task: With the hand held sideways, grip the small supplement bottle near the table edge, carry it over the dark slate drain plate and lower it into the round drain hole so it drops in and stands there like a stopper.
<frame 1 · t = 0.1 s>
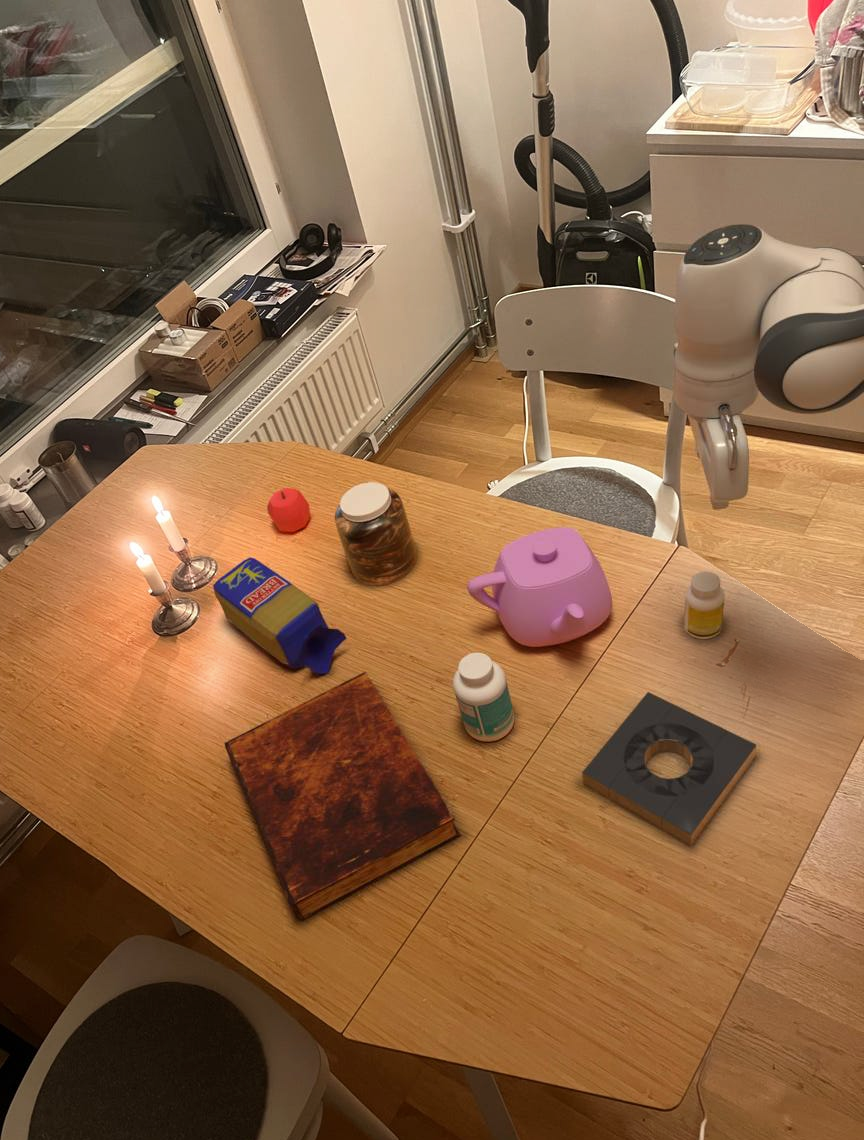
hand: (711, 479, 109), 33 cm above the table, tool pointing down, fingers open, 8 cm apart
apple: (294, 524, 174), on the table
supplement bottle: (703, 627, 137), on the table
bread: (286, 637, 155), on the table
book: (341, 797, 131), on the table
pill bottle: (489, 723, 134), on the table
teapot: (555, 616, 144), on the table
jar: (384, 563, 161), on the table
drain plate: (668, 771, 122), on the table
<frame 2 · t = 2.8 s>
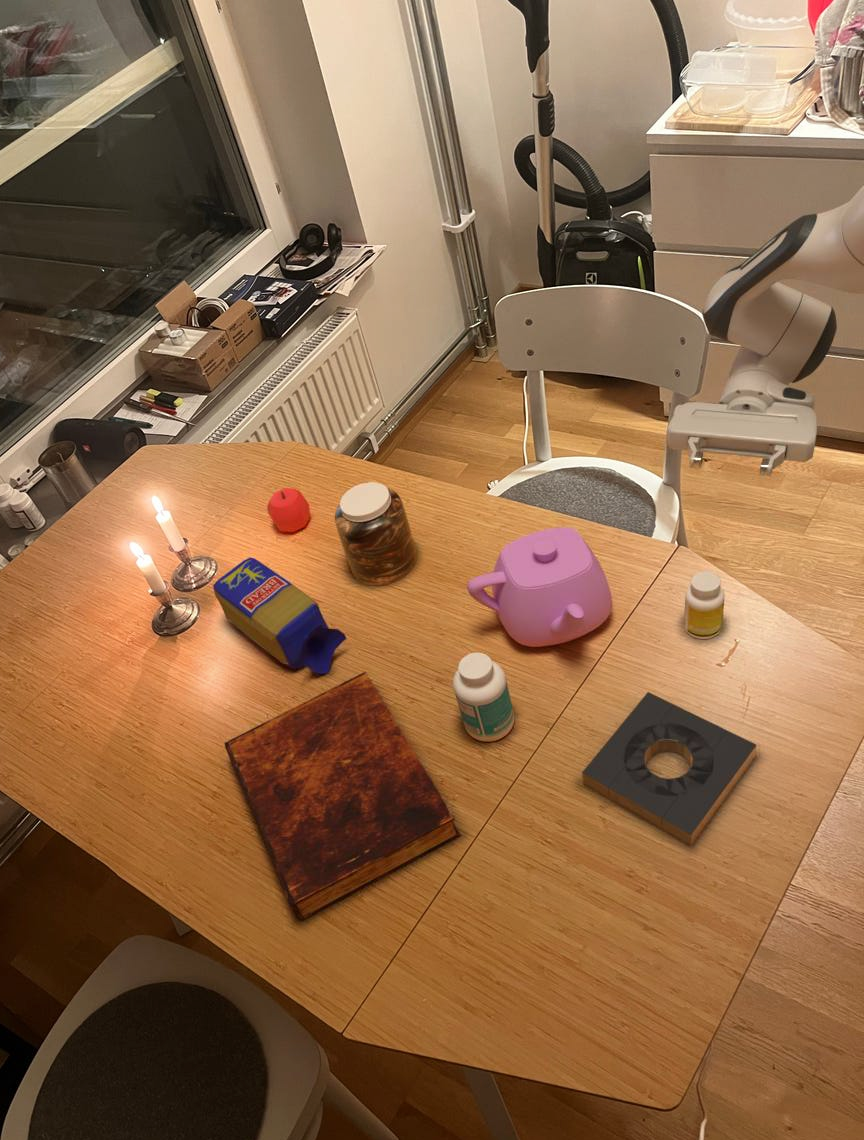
hand: (729, 468, 128), 20 cm above the table, tool horizontal, fingers open, 8 cm apart
nothing on the table moved.
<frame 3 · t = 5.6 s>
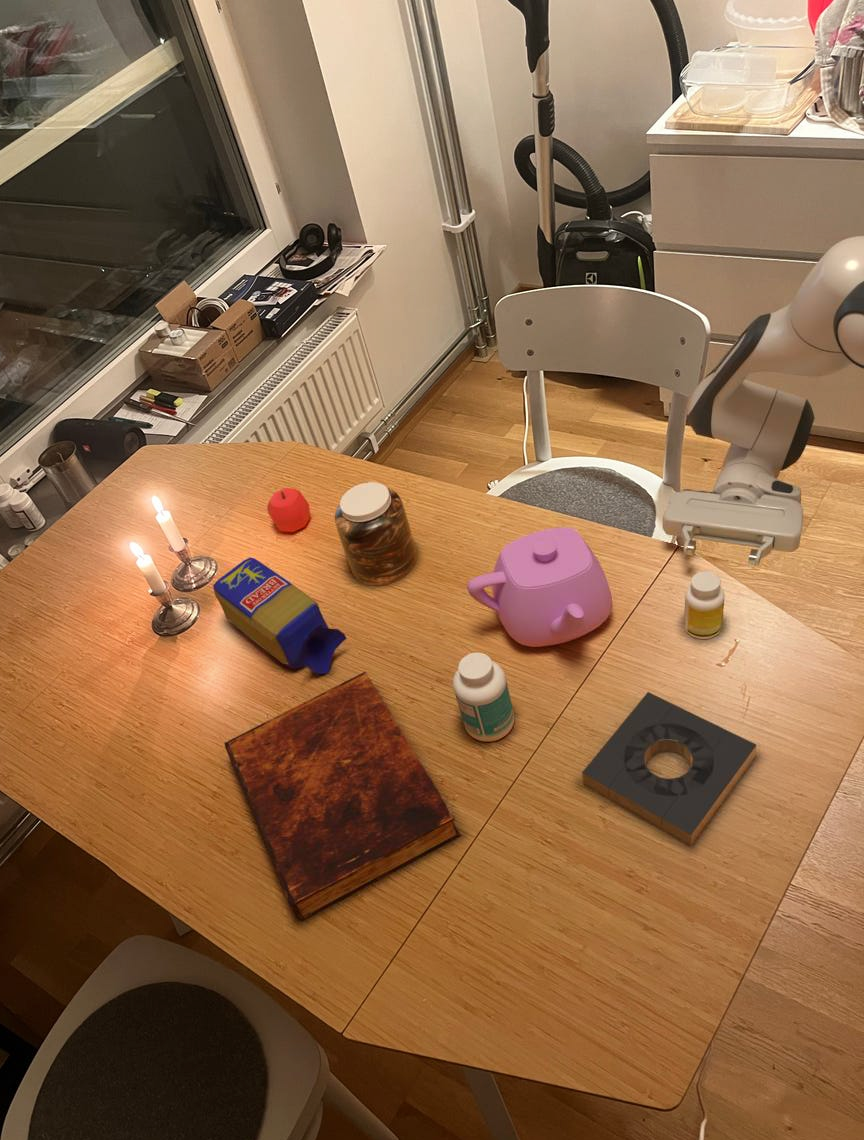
hand: (720, 557, 137), 6 cm above the table, tool horizontal, fingers open, 8 cm apart
nothing on the table moved.
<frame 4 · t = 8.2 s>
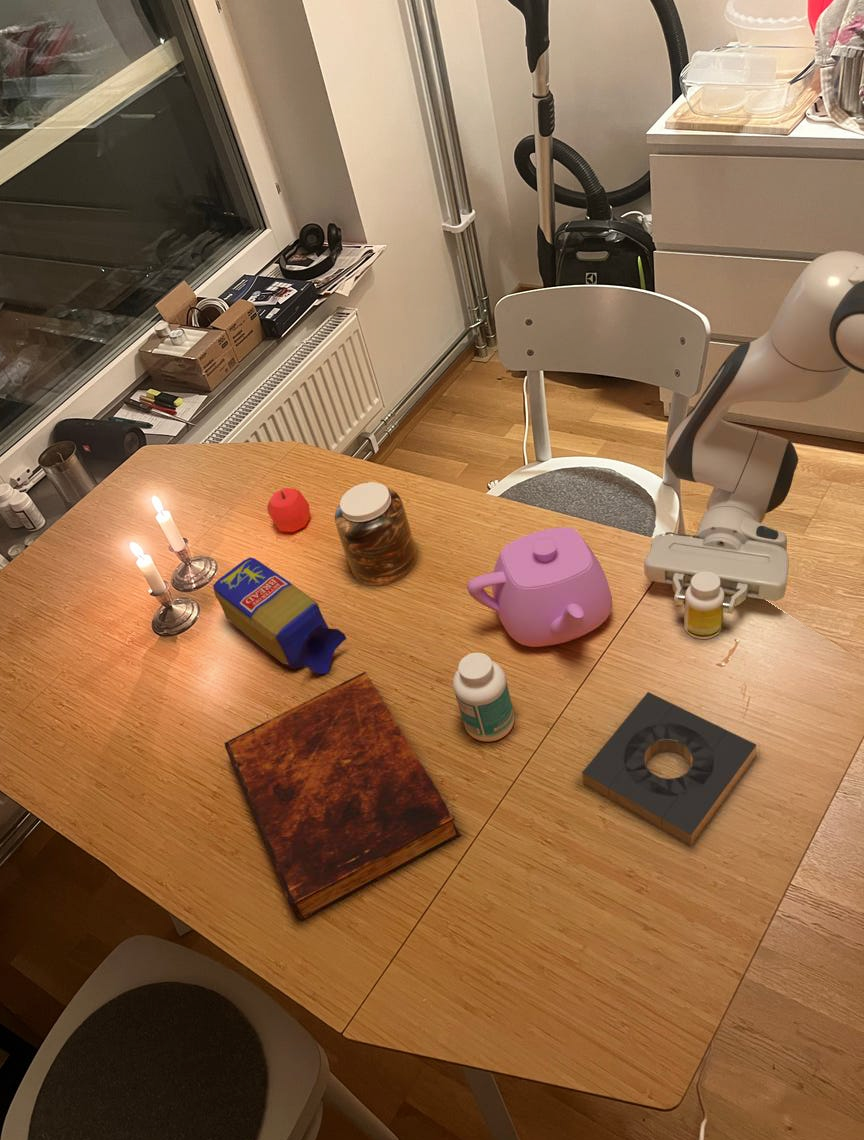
hand: (703, 606, 132), 6 cm above the table, tool horizontal, fingers closed on supplement bottle, 5 cm apart
supplement bottle: (702, 627, 137), on the table, touching gripper
everything else where it was.
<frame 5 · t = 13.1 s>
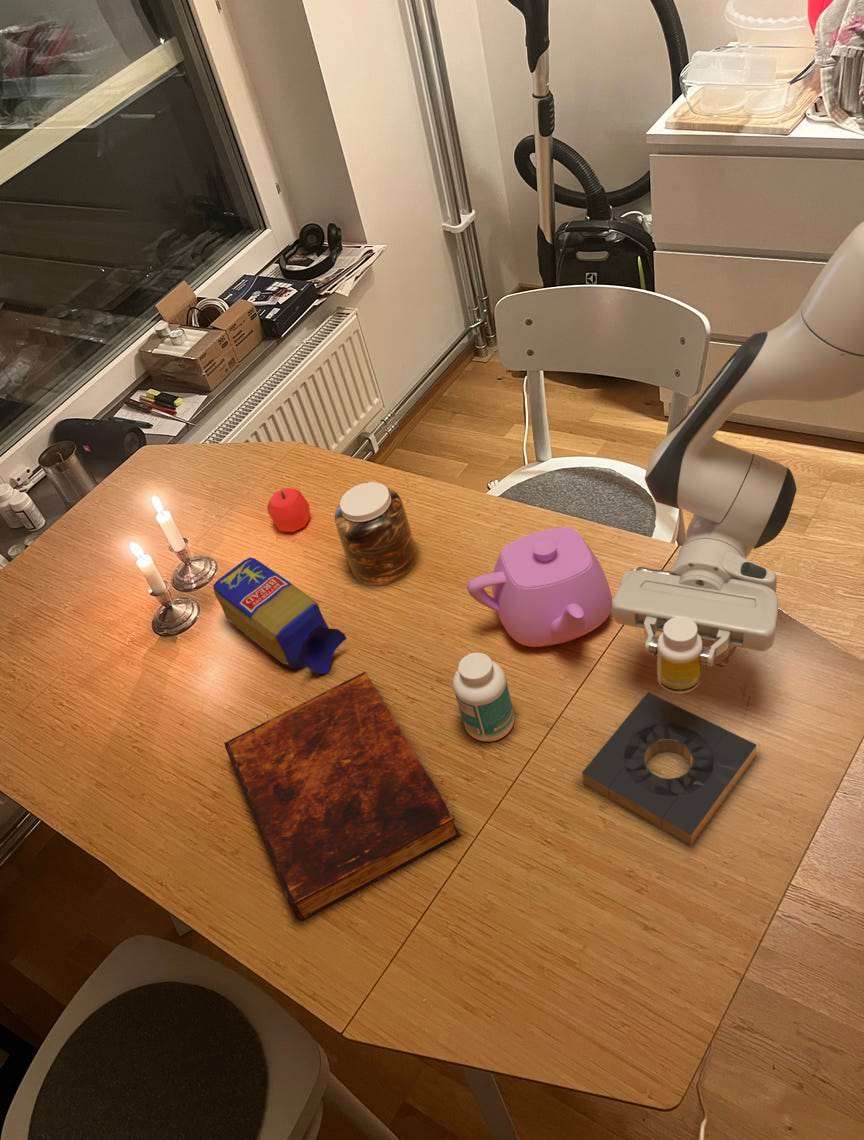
hand: (678, 656, 113), 17 cm above the table, tool horizontal, fingers closed on supplement bottle, 5 cm apart
supplement bottle: (678, 679, 118), point 11 cm above the table, touching gripper
everything else where it was.
when the fingers open (5 cm above the table, at t = 17.8 s): supplement bottle stays where it is, resting in drain plate.
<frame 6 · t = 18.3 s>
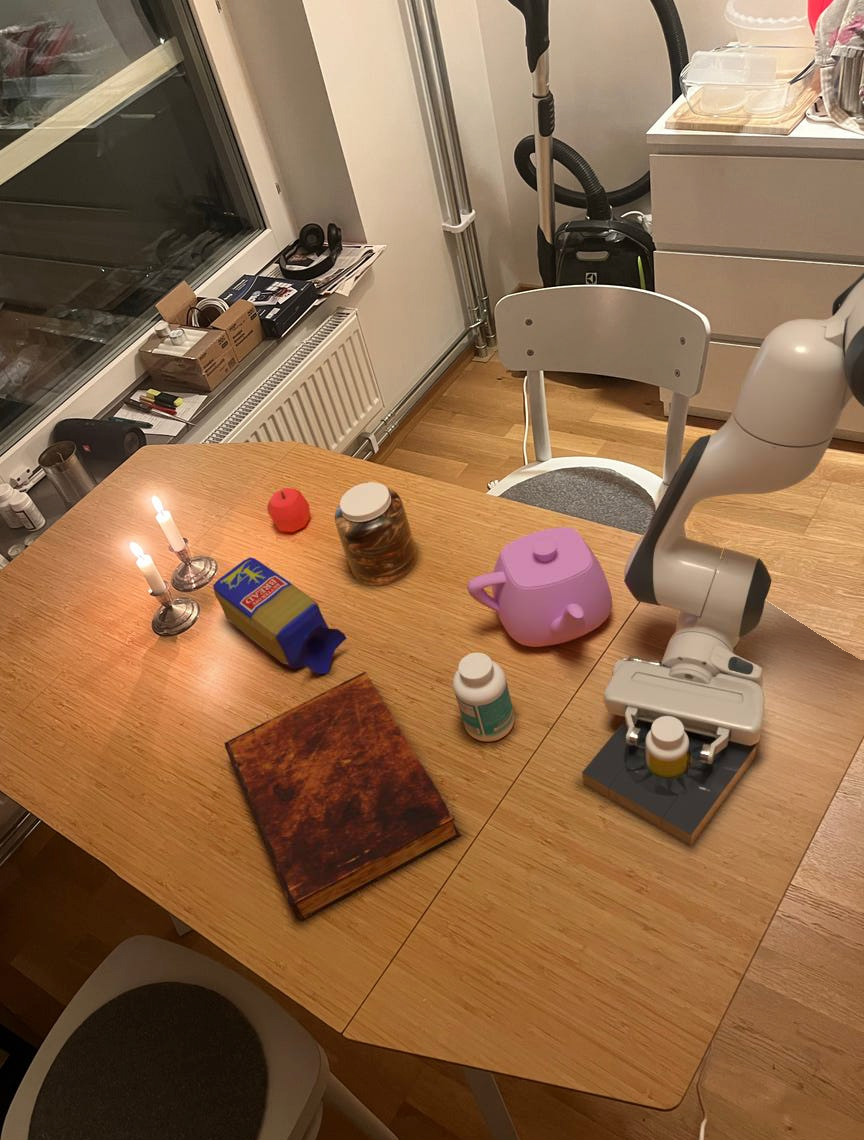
hand: (667, 750, 117), 6 cm above the table, tool horizontal, fingers open, 8 cm apart
supplement bottle: (666, 771, 122), resting in drain plate
everything else where it was.
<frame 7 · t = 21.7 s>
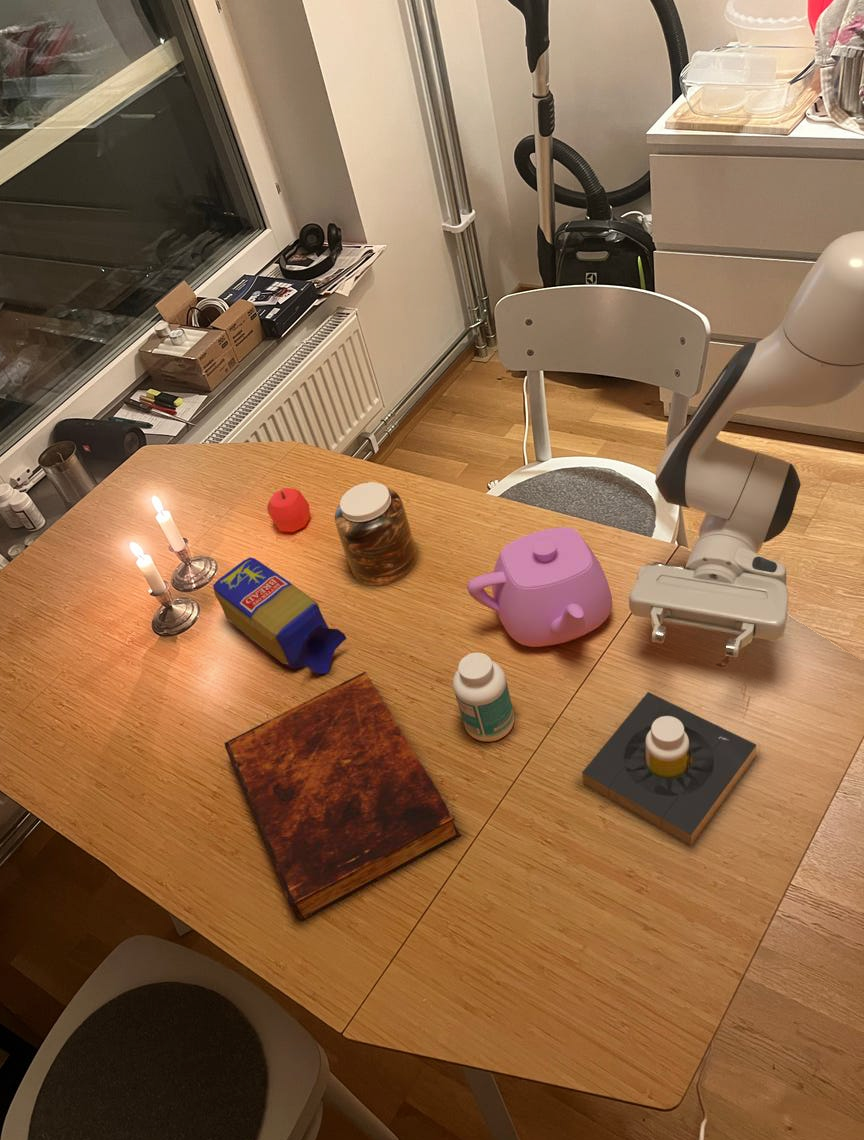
hand: (693, 646, 119), 12 cm above the table, tool horizontal, fingers open, 8 cm apart
nothing on the table moved.
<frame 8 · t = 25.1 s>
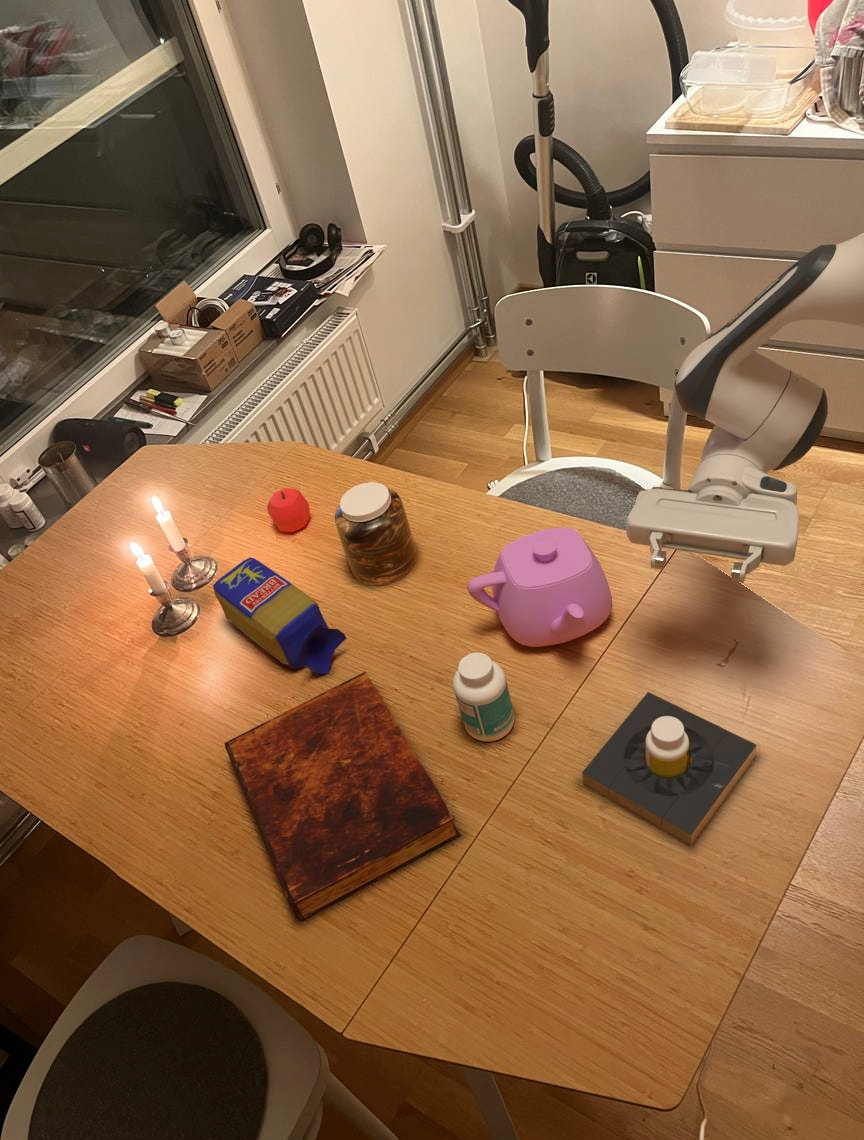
hand: (696, 571, 109), 26 cm above the table, tool horizontal, fingers open, 8 cm apart
nothing on the table moved.
at the end: supplement bottle 0.2 cm off-centre in the drain plate, point 0.0 cm above the drain plate's base; supplement bottle tilted 0°; jar moved 0.2 cm from its start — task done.
